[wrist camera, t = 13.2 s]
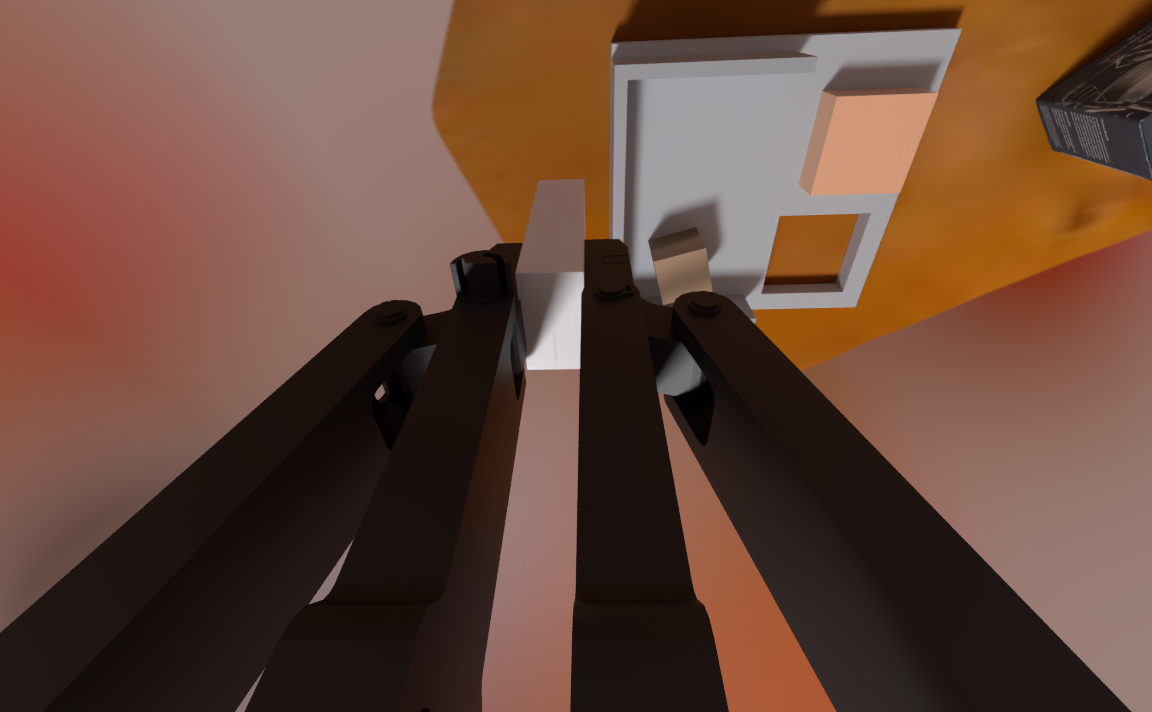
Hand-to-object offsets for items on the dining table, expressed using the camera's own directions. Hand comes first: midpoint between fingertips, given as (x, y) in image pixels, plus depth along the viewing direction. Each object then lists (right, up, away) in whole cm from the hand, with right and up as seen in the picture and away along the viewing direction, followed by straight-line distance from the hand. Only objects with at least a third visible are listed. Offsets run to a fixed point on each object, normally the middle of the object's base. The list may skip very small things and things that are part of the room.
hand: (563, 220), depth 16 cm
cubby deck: (+18, +12, +31) cm, 38 cm away
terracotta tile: (+26, +15, +26) cm, 40 cm away
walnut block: (+11, +6, +33) cm, 36 cm away
